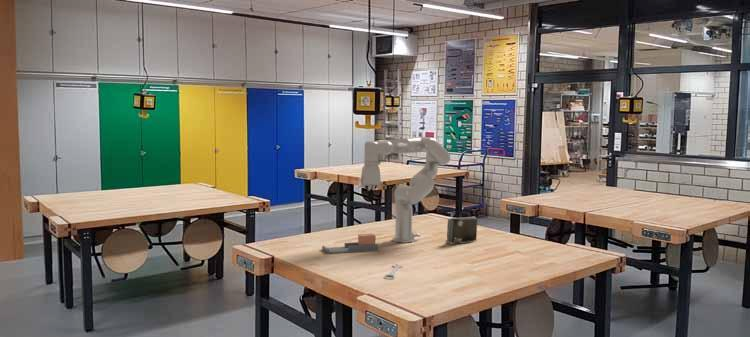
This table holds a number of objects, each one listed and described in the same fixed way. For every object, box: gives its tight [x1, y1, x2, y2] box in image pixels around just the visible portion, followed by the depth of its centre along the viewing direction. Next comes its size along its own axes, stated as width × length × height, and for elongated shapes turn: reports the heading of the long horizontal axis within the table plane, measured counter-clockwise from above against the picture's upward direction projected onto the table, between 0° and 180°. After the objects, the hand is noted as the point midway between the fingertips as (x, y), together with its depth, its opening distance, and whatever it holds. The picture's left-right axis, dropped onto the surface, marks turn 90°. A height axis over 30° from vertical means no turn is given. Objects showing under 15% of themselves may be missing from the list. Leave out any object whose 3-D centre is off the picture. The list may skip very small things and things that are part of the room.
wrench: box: [383, 263, 404, 280], centre depth 266 cm, size 25×2×5 cm
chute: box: [321, 241, 380, 255], centre depth 307 cm, size 28×10×3 cm, turn 110°
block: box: [357, 233, 377, 245], centre depth 310 cm, size 8×5×6 cm, turn 110°
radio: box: [445, 216, 478, 245], centre depth 331 cm, size 23×9×15 cm, turn 125°
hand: (370, 197), depth 319 cm, fingers closed
